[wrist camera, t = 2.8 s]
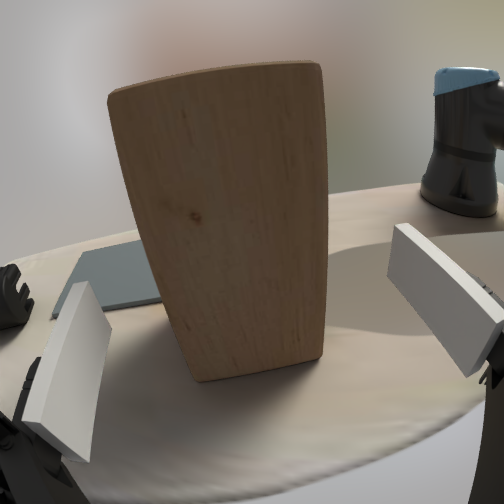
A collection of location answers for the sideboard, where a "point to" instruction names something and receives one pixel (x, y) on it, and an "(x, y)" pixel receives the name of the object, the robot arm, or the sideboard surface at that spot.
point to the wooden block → (232, 209)
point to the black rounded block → (13, 298)
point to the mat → (114, 277)
